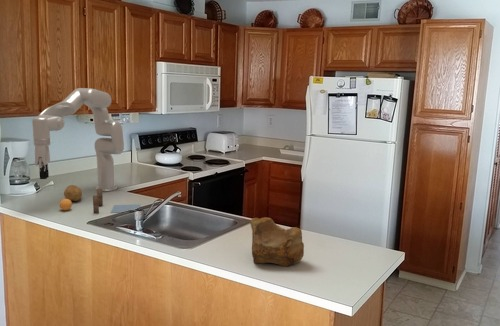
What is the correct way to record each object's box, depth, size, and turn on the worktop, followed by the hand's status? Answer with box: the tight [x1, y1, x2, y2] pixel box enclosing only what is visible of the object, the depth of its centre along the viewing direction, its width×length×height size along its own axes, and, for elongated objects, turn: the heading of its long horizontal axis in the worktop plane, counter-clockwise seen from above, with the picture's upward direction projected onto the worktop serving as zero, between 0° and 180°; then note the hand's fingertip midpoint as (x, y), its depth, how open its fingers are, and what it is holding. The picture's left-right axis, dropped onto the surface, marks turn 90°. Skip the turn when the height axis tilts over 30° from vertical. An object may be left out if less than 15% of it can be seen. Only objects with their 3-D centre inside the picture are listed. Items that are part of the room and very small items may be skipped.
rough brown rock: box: [249, 216, 305, 267], centre depth 178 cm, size 23×17×15 cm
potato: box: [63, 184, 83, 202], centre depth 258 cm, size 10×14×8 cm
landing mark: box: [110, 203, 141, 214], centre depth 245 cm, size 14×14×1 cm
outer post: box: [92, 194, 100, 215], centre depth 236 cm, size 3×3×9 cm
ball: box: [59, 198, 73, 211], centre depth 240 cm, size 6×6×6 cm
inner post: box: [96, 189, 104, 208], centre depth 248 cm, size 3×3×9 cm
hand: (44, 177), depth 236 cm, fingers open, 2 cm apart
